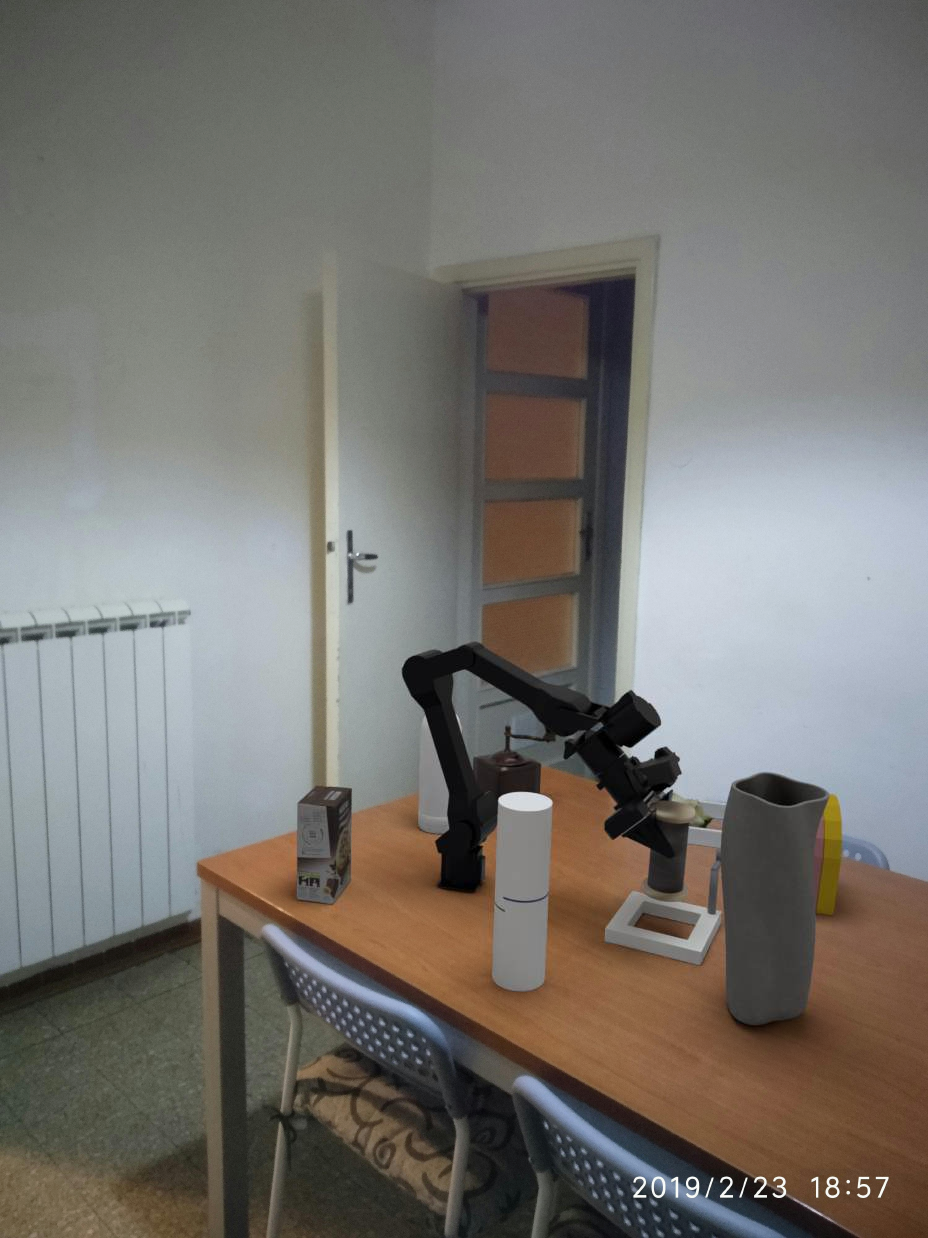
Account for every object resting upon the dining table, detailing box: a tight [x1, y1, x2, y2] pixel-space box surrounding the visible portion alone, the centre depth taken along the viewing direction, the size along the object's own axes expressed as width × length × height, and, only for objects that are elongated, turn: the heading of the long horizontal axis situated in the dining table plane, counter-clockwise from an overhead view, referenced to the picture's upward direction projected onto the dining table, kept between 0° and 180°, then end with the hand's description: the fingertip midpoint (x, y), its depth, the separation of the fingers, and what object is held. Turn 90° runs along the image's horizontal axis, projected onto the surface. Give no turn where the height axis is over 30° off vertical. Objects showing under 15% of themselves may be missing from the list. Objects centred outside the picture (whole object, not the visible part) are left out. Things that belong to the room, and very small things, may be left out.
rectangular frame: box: [604, 848, 722, 966], centre depth 142 cm, size 14×16×11 cm
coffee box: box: [296, 785, 353, 905], centre depth 152 cm, size 9×6×16 cm
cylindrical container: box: [491, 792, 553, 992], centre depth 127 cm, size 7×7×25 cm
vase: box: [720, 771, 830, 1026], centre depth 120 cm, size 12×12×30 cm
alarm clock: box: [813, 793, 843, 916], centre depth 154 cm, size 15×8×18 cm, turn 168°
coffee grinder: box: [472, 724, 557, 809], centre depth 193 cm, size 16×11×18 cm
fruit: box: [665, 792, 714, 829], centre depth 181 cm, size 9×9×8 cm
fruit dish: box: [687, 799, 727, 849], centre depth 183 cm, size 16×16×3 cm
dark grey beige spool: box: [641, 801, 695, 902], centre depth 140 cm, size 7×7×13 cm
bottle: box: [417, 714, 463, 835], centre depth 178 cm, size 8×8×30 cm
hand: (678, 850), depth 139 cm, fingers closed on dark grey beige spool, 5 cm apart
